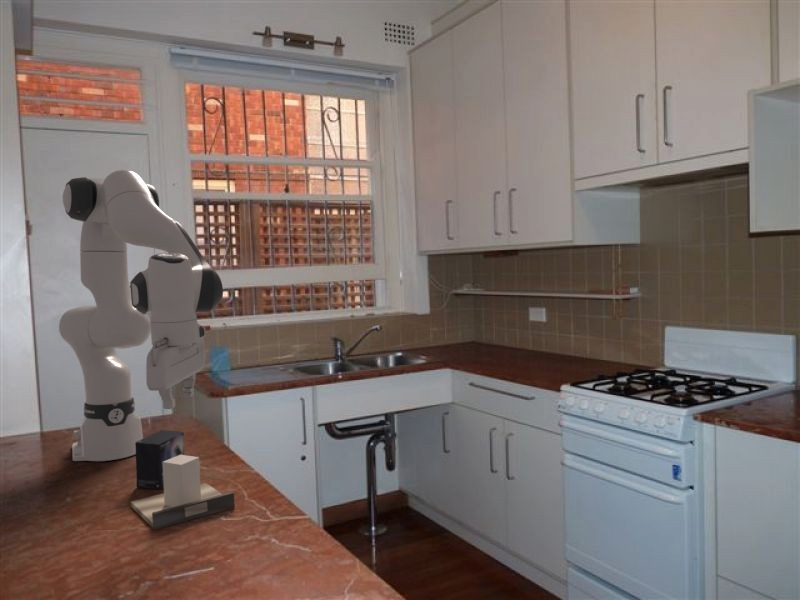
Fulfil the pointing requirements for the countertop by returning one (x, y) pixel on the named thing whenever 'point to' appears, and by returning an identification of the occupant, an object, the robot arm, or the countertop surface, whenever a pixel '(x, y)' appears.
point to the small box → (156, 456)
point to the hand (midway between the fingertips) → (179, 401)
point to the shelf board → (182, 507)
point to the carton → (181, 480)
